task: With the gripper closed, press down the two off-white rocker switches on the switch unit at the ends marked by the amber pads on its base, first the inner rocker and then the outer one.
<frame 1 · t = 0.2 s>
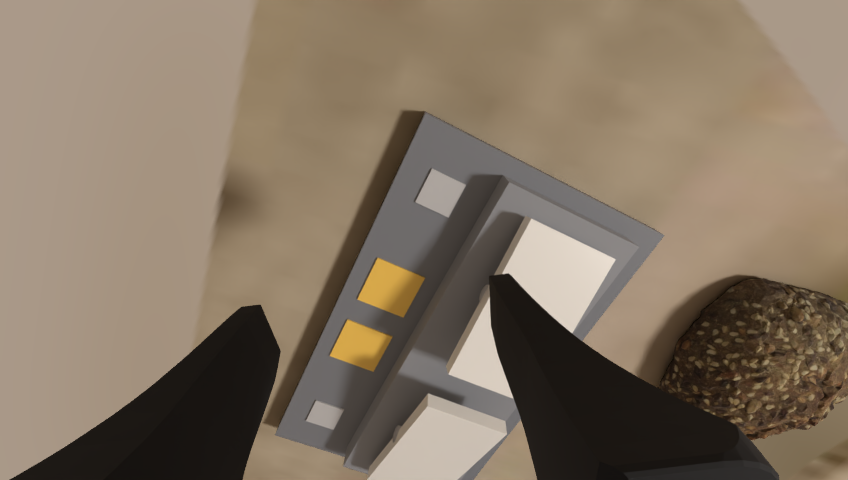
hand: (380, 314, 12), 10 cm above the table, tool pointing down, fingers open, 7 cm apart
switch unit: (447, 336, 25), on the table
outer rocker: (526, 312, 20), point 4 cm above the table, hinge at 10.0°
inner rocker: (432, 448, 24), point 4 cm above the table, hinge at -10.0°
bread roll: (743, 357, 27), on the table
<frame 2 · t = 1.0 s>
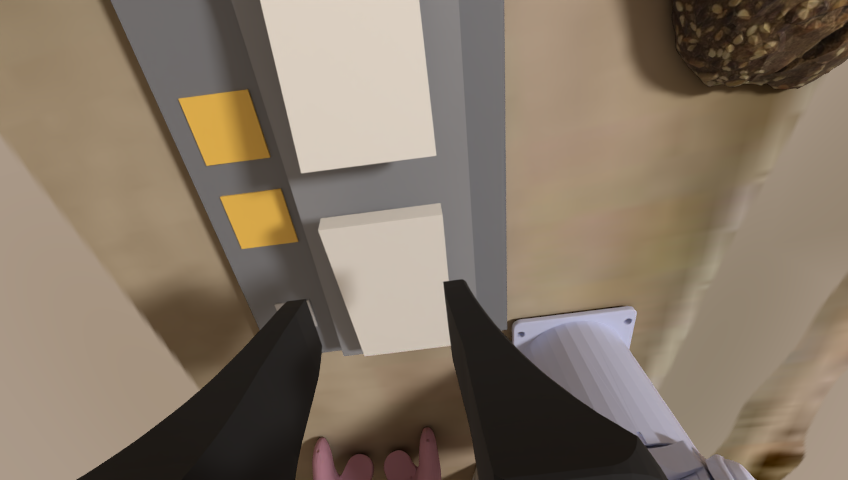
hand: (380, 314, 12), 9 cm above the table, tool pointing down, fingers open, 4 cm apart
switch unit: (350, 156, 19), on the table
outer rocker: (347, 29, 13), point 4 cm above the table, hinge at 10.0°
inner rocker: (397, 286, 19), point 4 cm above the table, hinge at -10.0°
pink curved piece: (379, 446, 32), on the table
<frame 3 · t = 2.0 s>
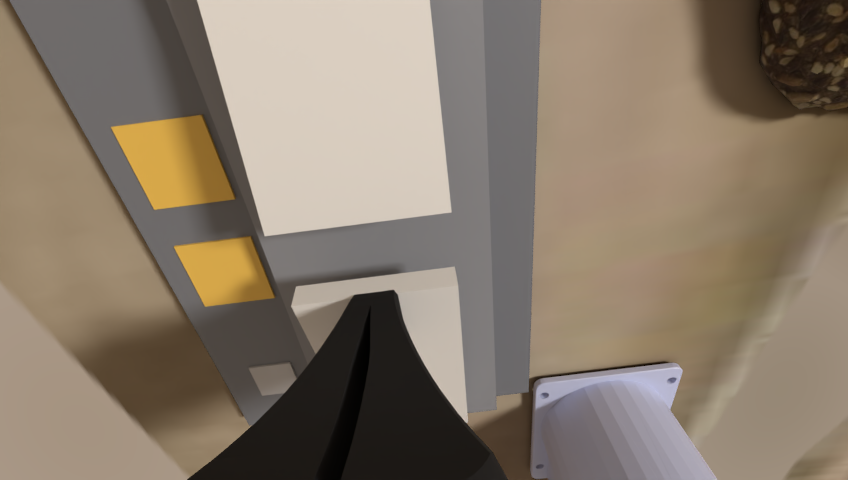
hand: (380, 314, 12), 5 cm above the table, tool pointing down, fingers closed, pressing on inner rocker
switch unit: (339, 195, 15), on the table
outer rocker: (326, 38, 9), point 4 cm above the table, hinge at 10.0°
inner rocker: (397, 360, 15), point 4 cm above the table, hinge at -10.0°, touching gripper
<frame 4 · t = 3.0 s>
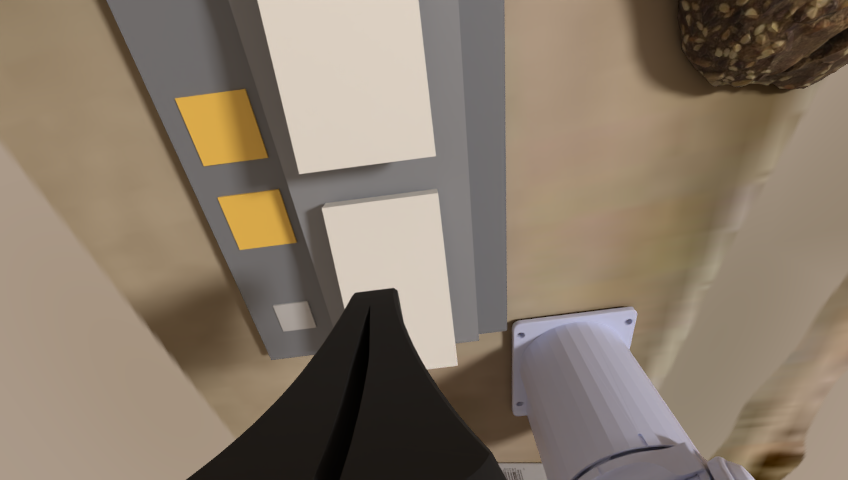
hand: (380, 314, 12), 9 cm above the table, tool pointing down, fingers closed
switch unit: (349, 157, 19), on the table
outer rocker: (345, 28, 13), point 4 cm above the table, hinge at 10.0°
inner rocker: (396, 287, 19), point 4 cm above the table, hinge at 10.1°
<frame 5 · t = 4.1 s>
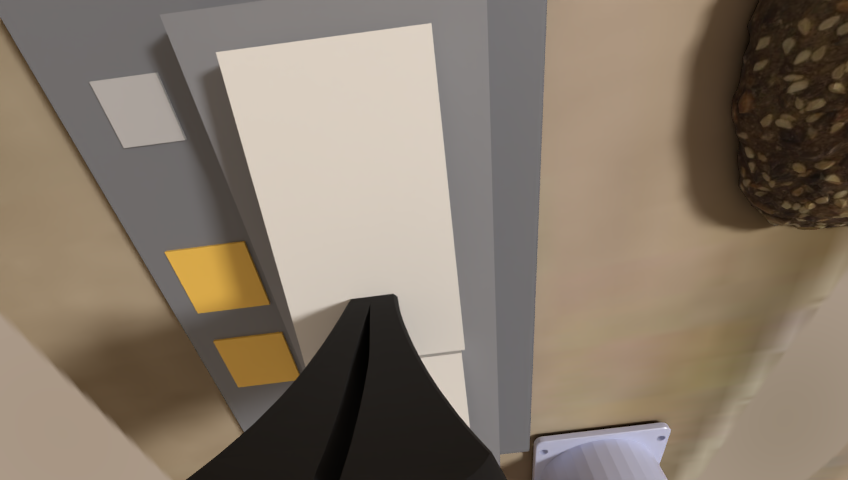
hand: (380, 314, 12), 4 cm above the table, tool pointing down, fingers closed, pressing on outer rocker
switch unit: (360, 292, 17), on the table
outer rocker: (361, 216, 11), point 4 cm above the table, hinge at 9.8°, touching gripper
inner rocker: (412, 442, 17), point 4 cm above the table, hinge at 14.0°
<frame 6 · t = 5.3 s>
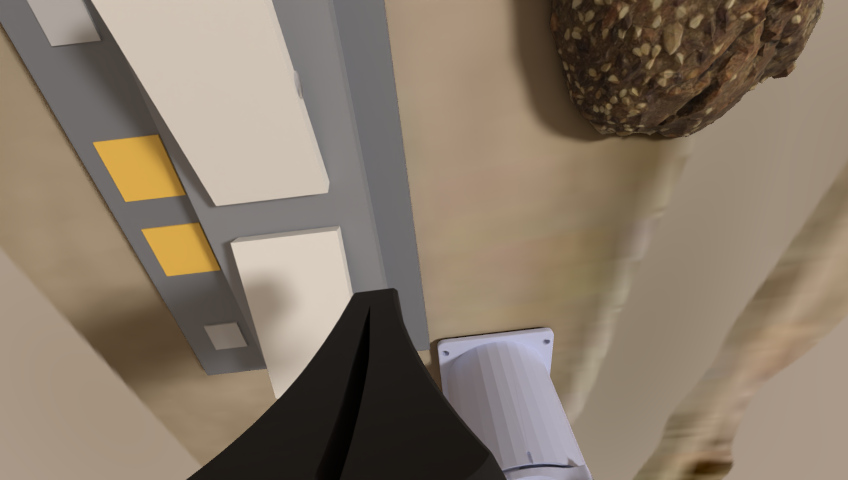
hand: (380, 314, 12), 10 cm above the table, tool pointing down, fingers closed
switch unit: (267, 192, 20), on the table
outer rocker: (231, 94, 14), point 4 cm above the table, hinge at -13.6°
inner rocker: (307, 314, 20), point 4 cm above the table, hinge at 12.2°
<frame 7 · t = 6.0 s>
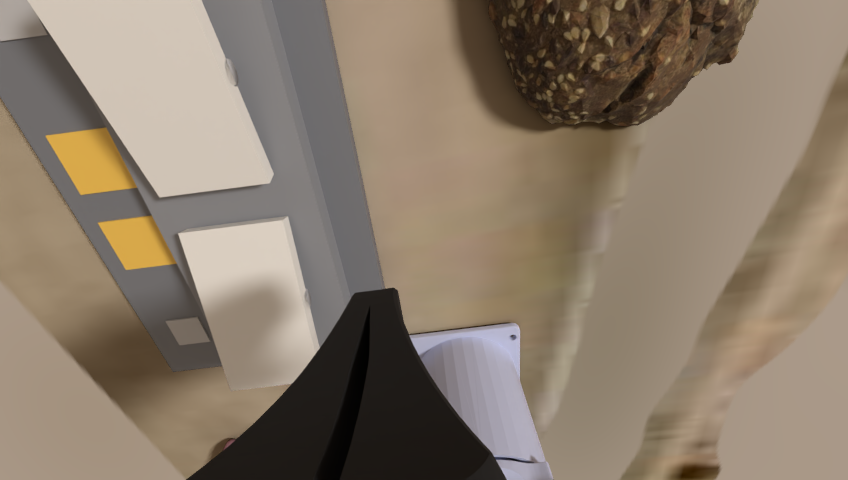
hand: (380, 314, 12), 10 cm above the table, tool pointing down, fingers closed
switch unit: (221, 185, 21), on the table
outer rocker: (166, 82, 15), point 4 cm above the table, hinge at -11.2°
inner rocker: (259, 305, 20), point 4 cm above the table, hinge at 11.7°
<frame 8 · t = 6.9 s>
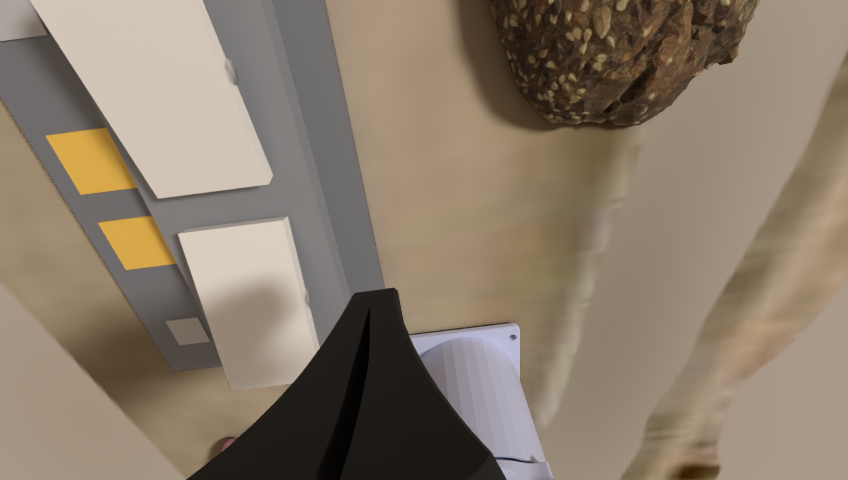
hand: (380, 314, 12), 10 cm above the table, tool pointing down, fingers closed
switch unit: (221, 185, 21), on the table
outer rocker: (166, 82, 15), point 4 cm above the table, hinge at -9.5°
inner rocker: (259, 305, 20), point 4 cm above the table, hinge at 11.4°
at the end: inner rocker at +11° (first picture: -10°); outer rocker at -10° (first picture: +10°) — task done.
